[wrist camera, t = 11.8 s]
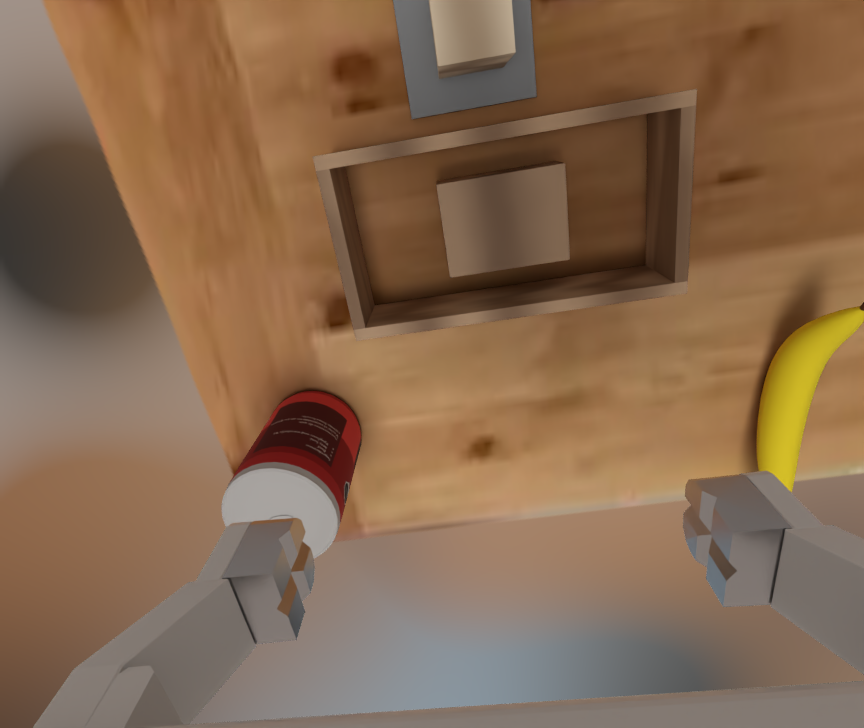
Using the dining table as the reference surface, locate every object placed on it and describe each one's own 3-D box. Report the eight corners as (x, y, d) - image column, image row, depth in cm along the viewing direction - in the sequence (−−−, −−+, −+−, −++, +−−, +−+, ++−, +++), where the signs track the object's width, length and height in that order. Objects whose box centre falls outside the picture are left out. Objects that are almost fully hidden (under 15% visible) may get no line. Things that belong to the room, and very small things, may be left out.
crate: (660, 96, 32) (696, 88, 27) (656, 274, 37) (687, 293, 32) (330, 154, 34) (312, 156, 29) (366, 316, 38) (356, 341, 34)
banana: (726, 488, 44) (768, 541, 38) (785, 276, 36) (849, 302, 31) (759, 488, 44) (807, 541, 38) (825, 275, 36) (898, 301, 31)
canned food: (304, 480, 45) (264, 578, 35) (253, 408, 42) (194, 494, 32) (380, 449, 43) (361, 542, 33) (333, 373, 40) (296, 450, 30)
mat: (525, -59, 29) (526, -61, 28) (535, 97, 32) (536, 96, 32) (388, -31, 30) (387, -33, 29) (412, 119, 33) (411, 118, 32)
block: (496, -11, 29) (508, -45, 24) (502, 67, 31) (515, 52, 26) (428, 2, 30) (425, -28, 24) (438, 79, 31) (438, 66, 26)
